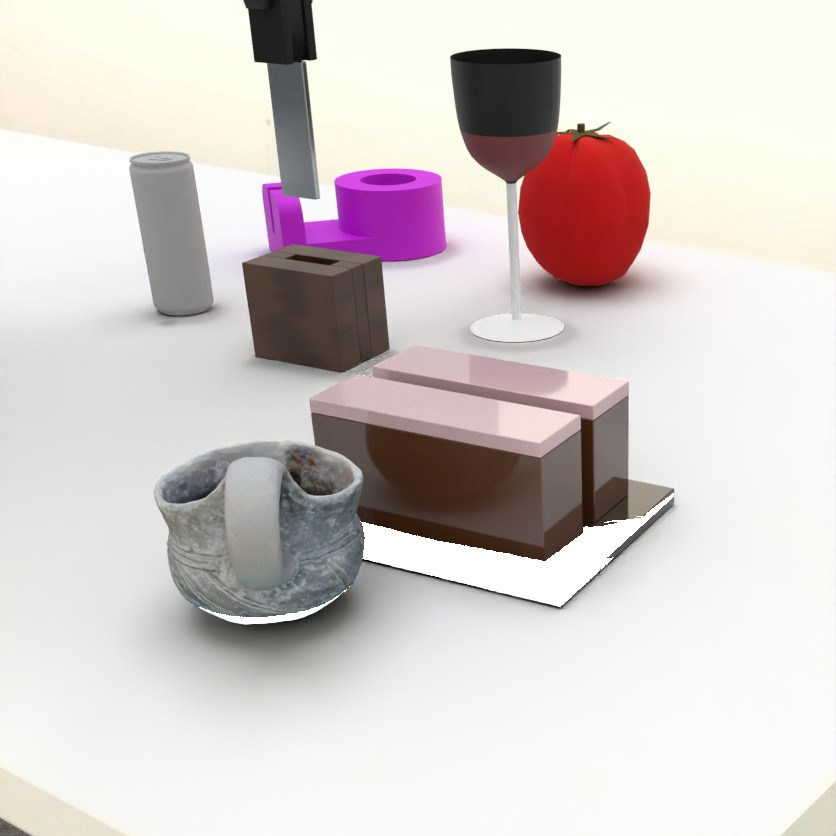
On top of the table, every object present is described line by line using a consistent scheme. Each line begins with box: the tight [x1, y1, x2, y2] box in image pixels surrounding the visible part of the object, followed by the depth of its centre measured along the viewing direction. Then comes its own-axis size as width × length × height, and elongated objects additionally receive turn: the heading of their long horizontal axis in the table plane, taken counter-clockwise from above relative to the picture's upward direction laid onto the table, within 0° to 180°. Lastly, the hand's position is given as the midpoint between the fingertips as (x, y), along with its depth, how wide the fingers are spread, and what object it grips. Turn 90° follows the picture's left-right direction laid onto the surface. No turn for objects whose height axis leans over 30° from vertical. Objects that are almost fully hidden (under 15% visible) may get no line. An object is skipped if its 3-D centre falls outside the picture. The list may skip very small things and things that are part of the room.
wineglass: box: [449, 47, 565, 343], centre depth 101 cm, size 8×9×20 cm
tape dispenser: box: [261, 167, 447, 262], centre depth 125 cm, size 16×10×6 cm, turn 114°
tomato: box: [517, 121, 651, 287], centre depth 114 cm, size 12×12×13 cm
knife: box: [266, 0, 321, 201], centre depth 90 cm, size 3×2×19 cm, turn 65°
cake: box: [308, 344, 675, 561], centre depth 74 cm, size 18×14×8 cm
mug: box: [153, 439, 365, 617], centre depth 63 cm, size 10×12×10 cm
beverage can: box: [128, 150, 215, 317], centre depth 107 cm, size 5×5×12 cm
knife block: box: [241, 244, 390, 373], centre depth 99 cm, size 8×6×7 cm
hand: (285, 60), depth 90 cm, fingers closed on knife, 2 cm apart
